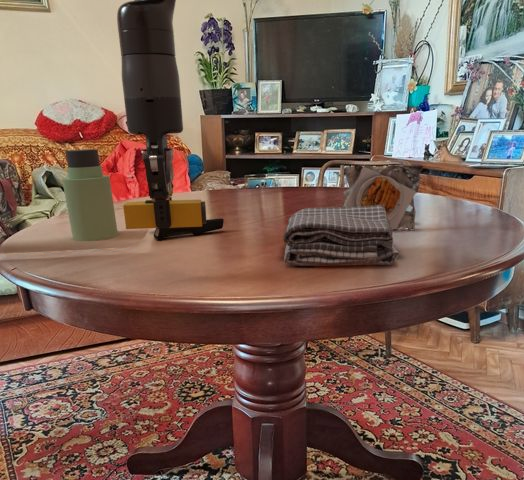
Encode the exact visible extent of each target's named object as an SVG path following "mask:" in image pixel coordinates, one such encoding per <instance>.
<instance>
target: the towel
mask: <svg viewBox="0 0 524 480" xmlns="http://www.w3.org/2000/svg"><path fill="white" fill-rule="evenodd" d="M393 234H394V233H393V229H391V227H390V222H389V220H388V218H387V214H386V210H385V208H384V206H383V205H376V206H366V207H365V206H363V207H342V206H340V207H338V206H337V207H335V206H334V207H333V206H332V207H307V208H306V207H305V208H302V209H299V210H298V211H296V212H294V213H292V215H291V216H290V217H289V218H288V220H287V225H286V227H285V230H284V234H283V236H282V240H283V242H284V243H285V244H286V246H285V250H284V257H283V261H284V263H285V264H287V265H292V266H297V267H324V266H325V267H328V266H329V267H330V266H331V267H332V266H333V267H336V266H339V267H340V266H356V265H357V266H363V265H365V266H366V265H371V266H373V265H374V266H375V265H376V266H377V265H381V266H382V265H383V266H391V265H394V264H395V263H396V260H397V259H398V257H399V251H398V250H397V249H396V248H395V247H394V245H393V244H394V237H393Z"/></svg>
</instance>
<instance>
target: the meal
mask: <svg viewBox="0 0 524 480" xmlns="http://www.w3.org/2000/svg"><path fill="white" fill-rule="evenodd" d="M423 167H424V166H423V165H422V164H419V165H416V164H414V165H413V164H411V165H410V164H409V165H407V164H406V165H402V164H401V165H400V164H399V165H397V164H396V165H394V164H392V165H391V164H389V165H387V166H372V165H371V166H370V165H358V166H346V167H344V174H345V179H346V181H347V185H348V189H346V190H344V191H342V193H343V195H344V198H345V201H344V202H343V203H342V206H341V207H363V206H365V207H366V206H376V205H383V206H384V208H385V210H386V214H387V218H388V220H389V222H390V227H391V230H393V229H398V230H400V228H403V229H405V228H408V229H414V230H415V229H416V222H415V221H416V207H415V201H414V199H415V198H414V197H415V195H416V194H417V193H419V189H420V181H421V180H420V177H421V176H420V175H421V173H422V171H423ZM409 206H410V207H412V209H410V211H409V210H408V209H409Z"/></svg>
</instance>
